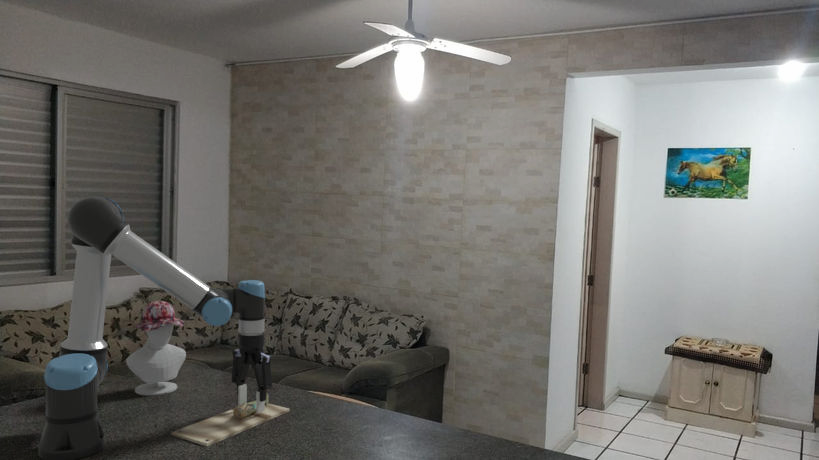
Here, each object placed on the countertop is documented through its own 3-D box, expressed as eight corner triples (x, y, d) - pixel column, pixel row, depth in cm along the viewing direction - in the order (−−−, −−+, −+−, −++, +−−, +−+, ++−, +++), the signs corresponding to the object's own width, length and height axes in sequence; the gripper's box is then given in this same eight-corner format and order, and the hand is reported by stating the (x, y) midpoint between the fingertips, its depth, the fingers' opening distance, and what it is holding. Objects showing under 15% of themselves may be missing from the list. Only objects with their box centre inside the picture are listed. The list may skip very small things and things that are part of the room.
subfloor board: (207, 446, 166) (207, 443, 166) (171, 435, 173) (171, 431, 173) (289, 411, 193) (289, 408, 193) (256, 402, 200) (256, 400, 200)
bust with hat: (139, 403, 197) (138, 308, 196) (120, 389, 211) (119, 300, 209) (198, 391, 210) (198, 302, 208) (176, 379, 223) (176, 294, 222)
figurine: (275, 406, 195) (275, 393, 195) (241, 421, 181) (241, 408, 181) (261, 403, 197) (261, 391, 197) (227, 418, 184) (226, 405, 183)
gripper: (285, 334, 186) (284, 411, 187) (237, 326, 196) (237, 399, 197) (267, 339, 179) (266, 419, 181) (218, 330, 189) (218, 406, 191)
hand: (251, 408), depth 189 cm, fingers open, 7 cm apart
